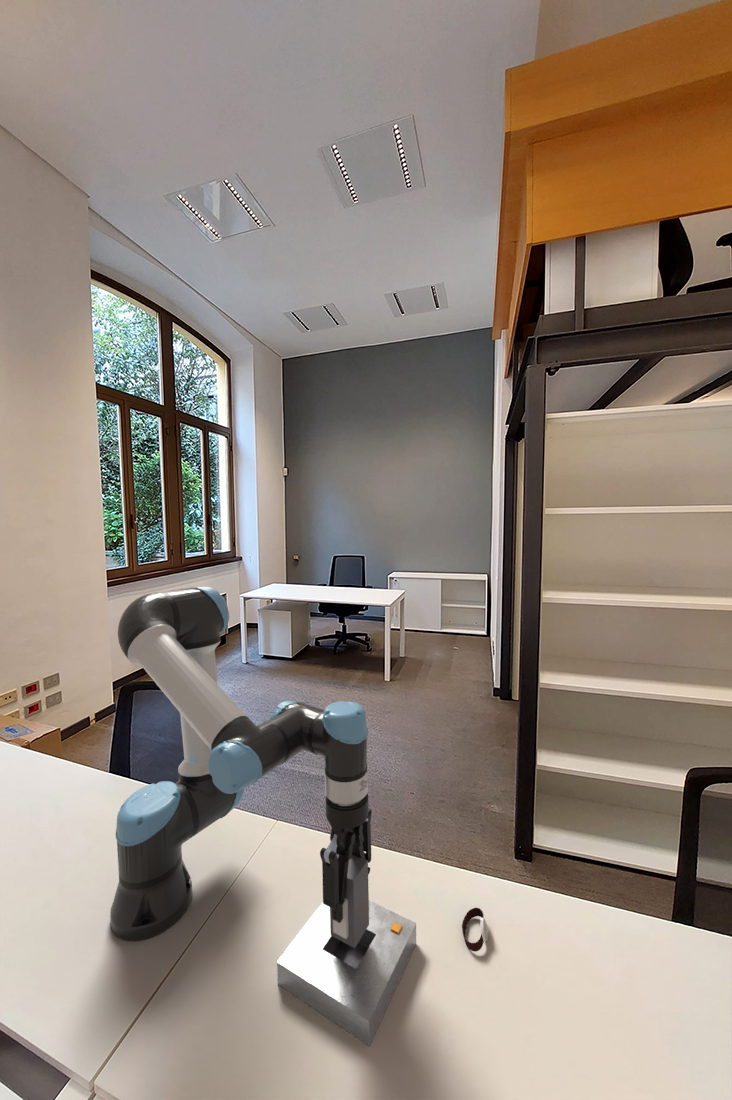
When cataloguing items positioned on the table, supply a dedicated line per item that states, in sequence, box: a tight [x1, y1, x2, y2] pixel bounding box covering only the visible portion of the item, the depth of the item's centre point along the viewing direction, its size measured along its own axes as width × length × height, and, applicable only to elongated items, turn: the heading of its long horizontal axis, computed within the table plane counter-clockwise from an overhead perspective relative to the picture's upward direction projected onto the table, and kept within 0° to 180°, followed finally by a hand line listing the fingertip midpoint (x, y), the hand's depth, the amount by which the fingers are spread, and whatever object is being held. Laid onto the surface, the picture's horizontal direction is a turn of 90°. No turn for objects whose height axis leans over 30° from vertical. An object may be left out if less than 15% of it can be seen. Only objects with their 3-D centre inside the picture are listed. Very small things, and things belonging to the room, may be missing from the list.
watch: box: [461, 907, 489, 952], centre depth 81 cm, size 8×5×4 cm, turn 160°
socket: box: [276, 900, 417, 1047], centre depth 76 cm, size 18×18×4 cm
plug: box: [330, 855, 370, 948], centre depth 75 cm, size 5×5×12 cm
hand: (349, 920), depth 75 cm, fingers closed on plug, 5 cm apart
